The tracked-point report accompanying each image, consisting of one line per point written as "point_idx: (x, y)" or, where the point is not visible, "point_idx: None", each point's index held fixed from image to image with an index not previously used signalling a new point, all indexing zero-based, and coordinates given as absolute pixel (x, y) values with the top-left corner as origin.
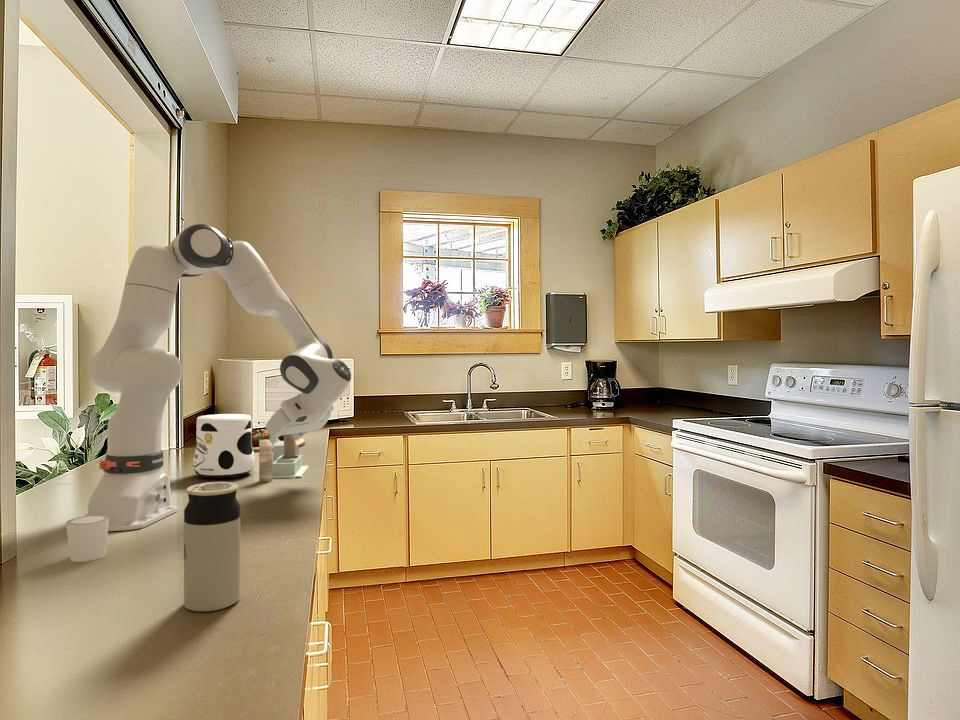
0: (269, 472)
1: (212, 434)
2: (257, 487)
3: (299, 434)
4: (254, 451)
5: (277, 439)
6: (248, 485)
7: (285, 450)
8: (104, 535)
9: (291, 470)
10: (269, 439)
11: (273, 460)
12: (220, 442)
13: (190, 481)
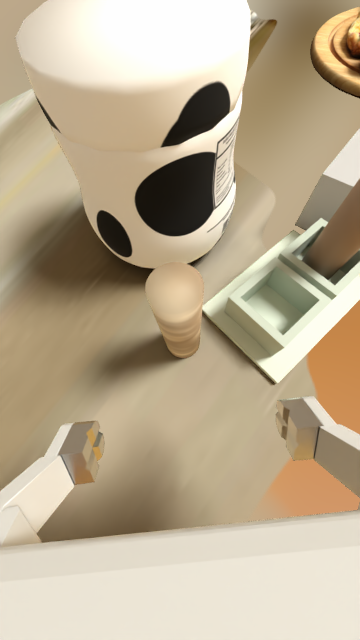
0: (180, 351)
1: (56, 137)
2: (121, 387)
3: (300, 450)
4: (349, 90)
5: (79, 481)
6: (125, 348)
7: (322, 239)
8: None
9: (268, 345)
10: (63, 425)
11: (303, 211)
12: (84, 180)
13: (89, 226)
